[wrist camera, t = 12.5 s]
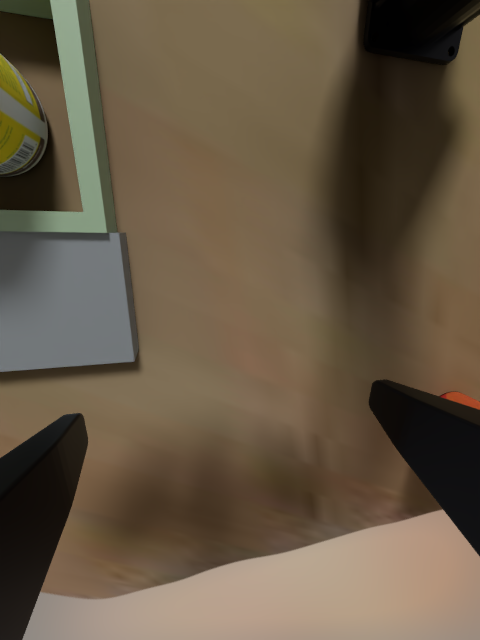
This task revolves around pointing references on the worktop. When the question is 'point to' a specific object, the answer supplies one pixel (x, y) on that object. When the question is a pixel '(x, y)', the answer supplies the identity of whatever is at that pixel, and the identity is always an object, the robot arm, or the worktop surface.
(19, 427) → the worktop surface
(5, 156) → the supplement bottle
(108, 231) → the green flat frame
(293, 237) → the worktop surface
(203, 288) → the worktop surface
